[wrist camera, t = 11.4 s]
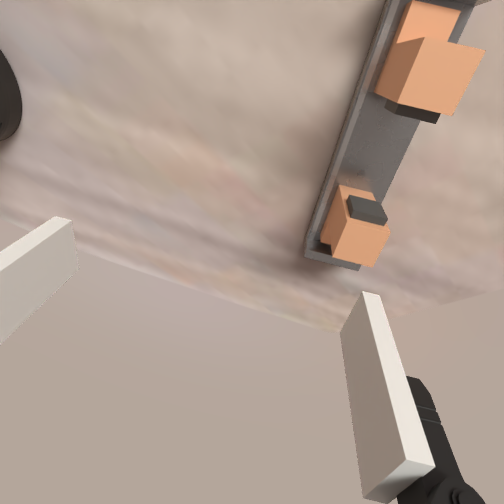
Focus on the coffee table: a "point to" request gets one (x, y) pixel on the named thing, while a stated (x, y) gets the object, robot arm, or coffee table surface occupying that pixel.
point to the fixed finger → (426, 64)
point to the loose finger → (355, 226)
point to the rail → (372, 130)
